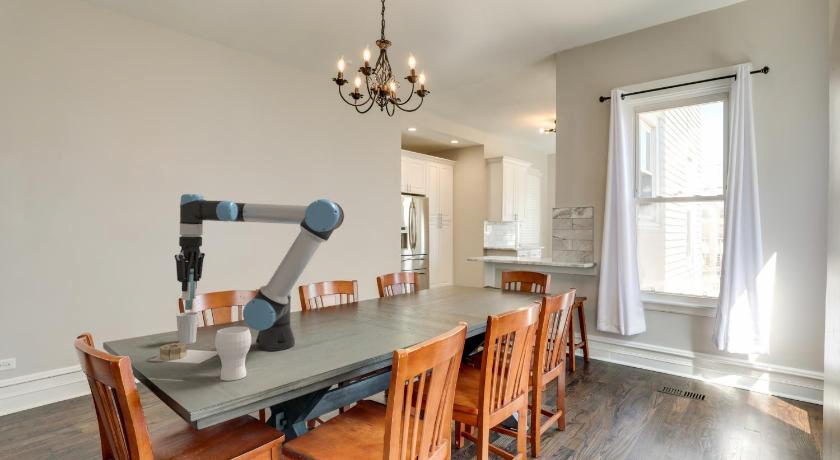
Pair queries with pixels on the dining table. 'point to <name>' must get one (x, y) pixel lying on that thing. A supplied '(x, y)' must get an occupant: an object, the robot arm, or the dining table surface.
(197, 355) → the mat
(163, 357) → the bead
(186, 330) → the cup
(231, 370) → the cup
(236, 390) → the dining table surface
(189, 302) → the teal marker pen
